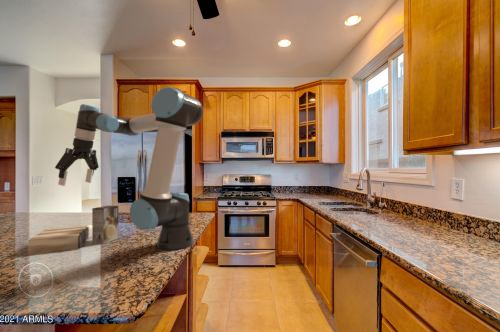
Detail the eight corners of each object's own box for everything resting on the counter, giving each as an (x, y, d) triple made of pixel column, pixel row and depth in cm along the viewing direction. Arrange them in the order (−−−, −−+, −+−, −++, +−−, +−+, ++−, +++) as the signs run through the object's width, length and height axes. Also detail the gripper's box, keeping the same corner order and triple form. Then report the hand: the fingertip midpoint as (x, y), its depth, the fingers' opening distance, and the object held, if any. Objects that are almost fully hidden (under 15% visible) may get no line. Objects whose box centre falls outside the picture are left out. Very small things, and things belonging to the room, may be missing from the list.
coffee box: (107, 237, 116) (107, 205, 117) (118, 238, 115) (119, 205, 115) (91, 243, 107) (91, 208, 108) (103, 244, 106) (104, 208, 106)
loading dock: (80, 249, 100) (80, 234, 100) (28, 255, 92) (28, 239, 93) (88, 238, 116) (88, 225, 116) (45, 242, 109) (45, 229, 109)
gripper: (99, 139, 121) (91, 179, 123) (50, 134, 97) (41, 184, 98) (111, 142, 120) (103, 183, 121) (65, 138, 95) (55, 188, 97)
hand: (75, 183), depth 110 cm, fingers open, 13 cm apart
